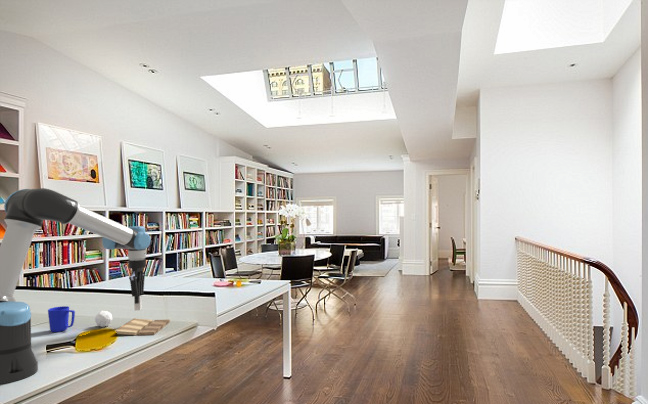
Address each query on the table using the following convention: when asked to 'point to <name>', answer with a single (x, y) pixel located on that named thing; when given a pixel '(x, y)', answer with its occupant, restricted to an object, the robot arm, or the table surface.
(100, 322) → the ornament
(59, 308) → the mug
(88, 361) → the table surface
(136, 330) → the plank
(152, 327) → the laid strip
